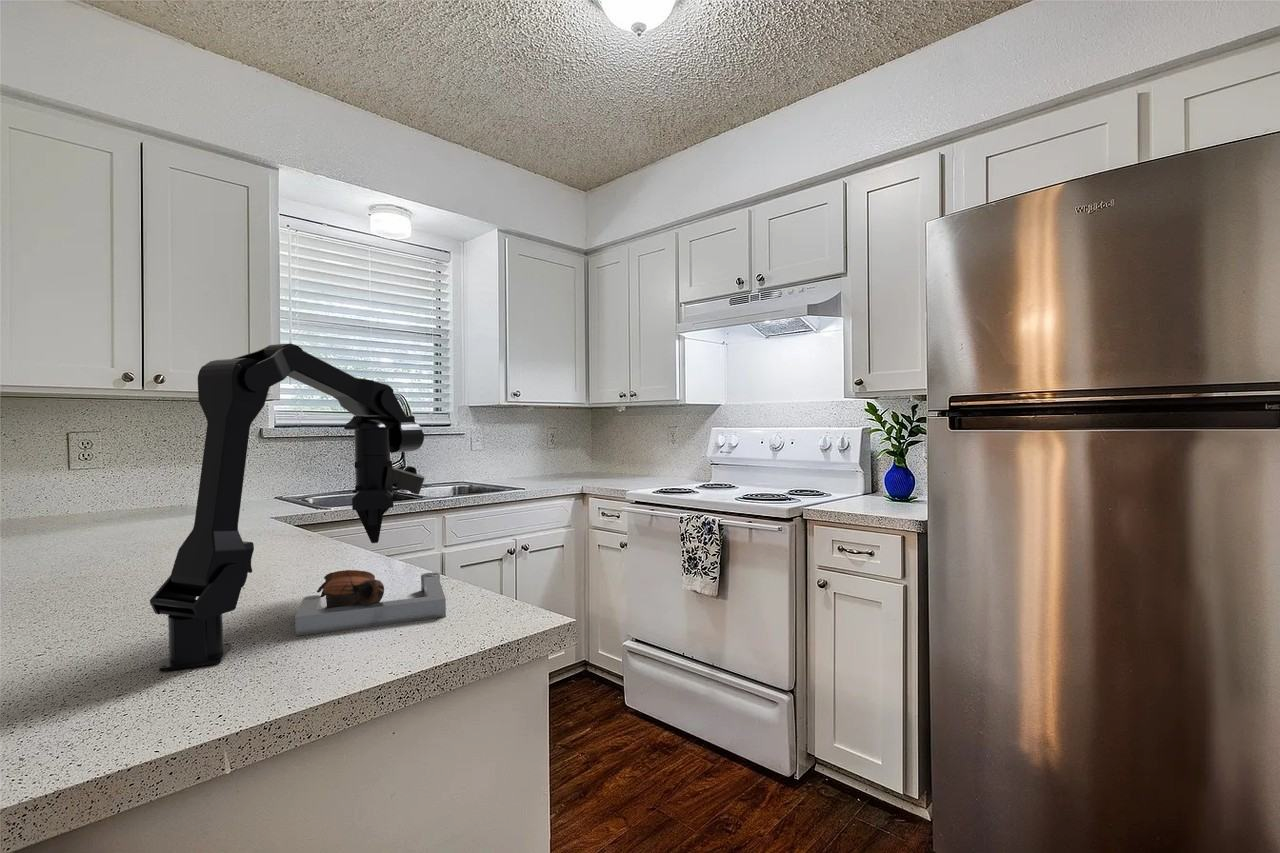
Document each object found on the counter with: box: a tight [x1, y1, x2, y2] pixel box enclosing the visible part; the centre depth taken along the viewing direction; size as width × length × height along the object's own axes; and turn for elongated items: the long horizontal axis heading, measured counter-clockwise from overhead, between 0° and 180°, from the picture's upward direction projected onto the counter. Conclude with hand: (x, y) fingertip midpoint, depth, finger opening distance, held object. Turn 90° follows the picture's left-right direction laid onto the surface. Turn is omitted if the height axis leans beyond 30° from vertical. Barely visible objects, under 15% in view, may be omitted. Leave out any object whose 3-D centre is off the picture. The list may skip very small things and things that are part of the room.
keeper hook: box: [294, 572, 447, 637], centre depth 101 cm, size 18×21×3 cm
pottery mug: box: [316, 569, 385, 609], centre depth 98 cm, size 12×10×8 cm
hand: (374, 542), depth 110 cm, fingers closed
